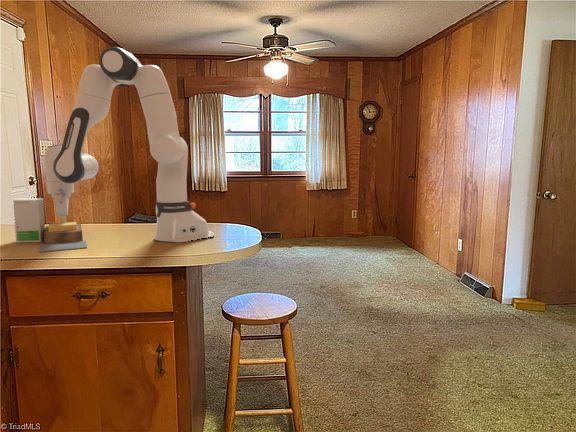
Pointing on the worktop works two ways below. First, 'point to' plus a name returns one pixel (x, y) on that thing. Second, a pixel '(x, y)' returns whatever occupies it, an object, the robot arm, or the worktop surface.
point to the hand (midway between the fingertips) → (63, 224)
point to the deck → (63, 235)
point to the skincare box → (29, 219)
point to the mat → (63, 246)
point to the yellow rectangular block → (62, 226)
